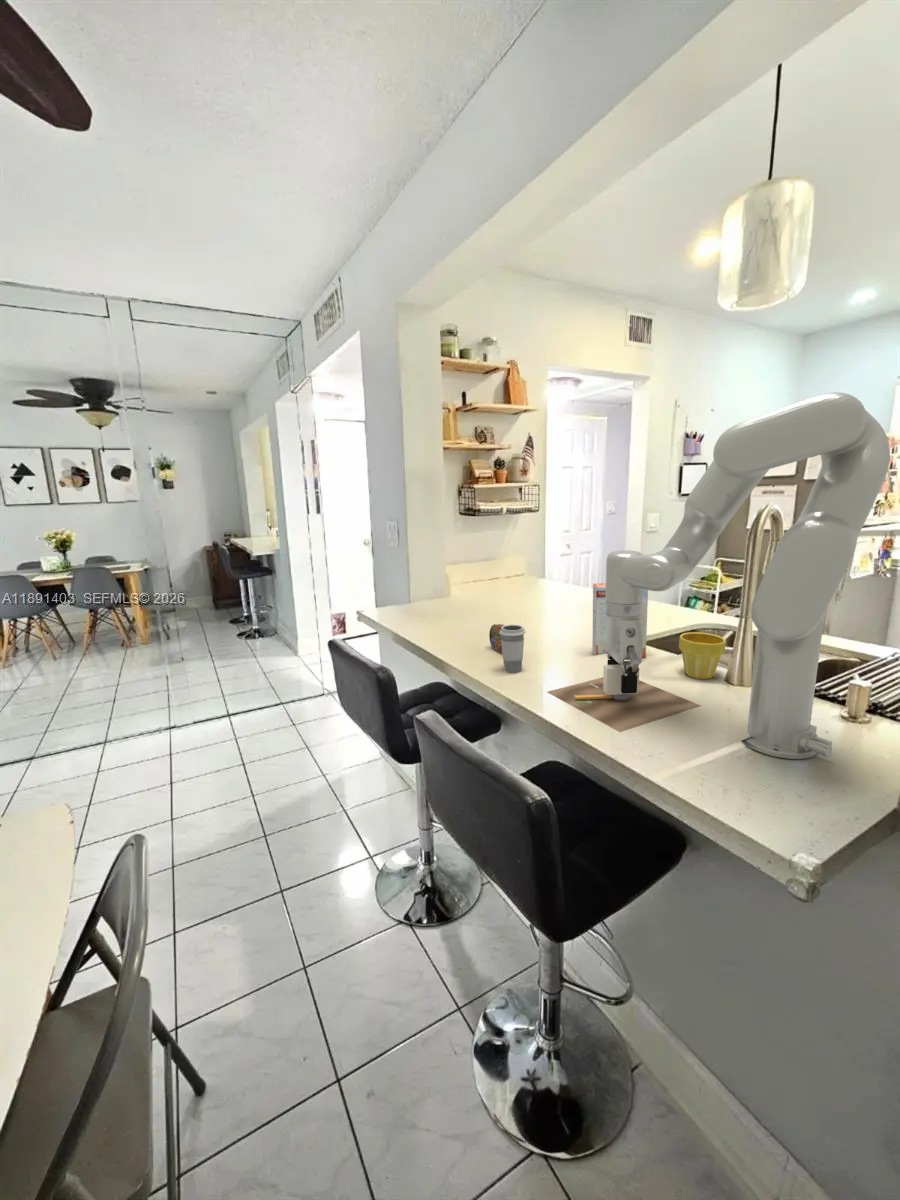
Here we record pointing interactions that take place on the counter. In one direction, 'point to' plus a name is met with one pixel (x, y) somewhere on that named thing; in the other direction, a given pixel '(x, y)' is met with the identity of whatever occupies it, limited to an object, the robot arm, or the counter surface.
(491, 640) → the tin
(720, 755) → the counter surface
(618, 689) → the knob
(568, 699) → the dial board
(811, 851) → the counter surface
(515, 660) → the cup
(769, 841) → the counter surface
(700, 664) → the plant pot
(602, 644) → the cracker box
